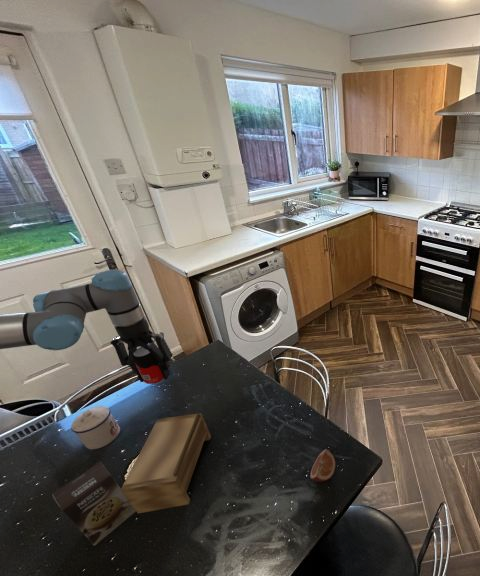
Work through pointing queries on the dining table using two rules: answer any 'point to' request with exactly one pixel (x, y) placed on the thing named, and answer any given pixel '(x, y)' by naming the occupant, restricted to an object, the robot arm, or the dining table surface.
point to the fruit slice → (323, 467)
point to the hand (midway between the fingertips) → (155, 377)
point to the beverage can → (147, 366)
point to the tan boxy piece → (166, 463)
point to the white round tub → (96, 427)
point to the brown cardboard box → (94, 503)
